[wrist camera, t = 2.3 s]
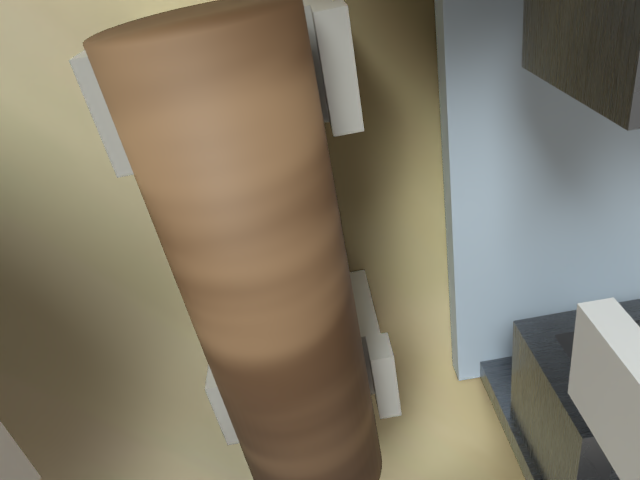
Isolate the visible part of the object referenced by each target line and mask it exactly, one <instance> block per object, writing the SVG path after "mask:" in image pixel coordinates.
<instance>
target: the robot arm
mask: <svg viewBox="0 0 640 480" xmlns="http://www.w3.org/2000/svg"><path fill="white" fill-rule="evenodd" d="M568 394H569V396H570V397H571V399H572V401H573V402H574V404H575V406H576V407H577V409H578V411H579V412H580V414H581V416H582V417H583V419H584V421H585V422H586V424H587V426H588V427H589V429H590V431H591V432H592V434H593V436H594V437H595V439H596V441H597V442H598V444H599V446H600V447H601V449H602V451H603V452H604V454H605V456H606V457H607V459H608V461H609V462H610V464H611V466H612V467H613V469H614V471H615V472H616V474H617V476H618V477H619V479H620V480H640V327H639V326H638V324H637V323H636V322H635V321H634V320H633V319H632V318H631V316H630V315H629V314H628V313H627V312H626V311H625V310H624V309H623V307H622V306H621V305H620V304H619V303H618V302H617V301H616V299H615V298H614V297H613V298H607V299H601V300H595V301H589V302H583V303H577V312H576V321H575V330H574V339H573V349H572V358H571V367H570V376H569V385H568ZM40 479H41V476H40V475H39V473H38V472H37V471H36V469H35V468H34V466H33V465H32V464H31V462H30V461H29V460H28V458H27V457H26V456H25V454H24V453H23V451H22V450H21V449H20V447H19V446H18V445H17V443H16V442H15V440H14V439H13V438H12V436H11V435H10V434H9V432H8V431H7V430H6V428H5V427H4V425H3V424H2V423H1V421H0V480H40Z"/></svg>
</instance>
